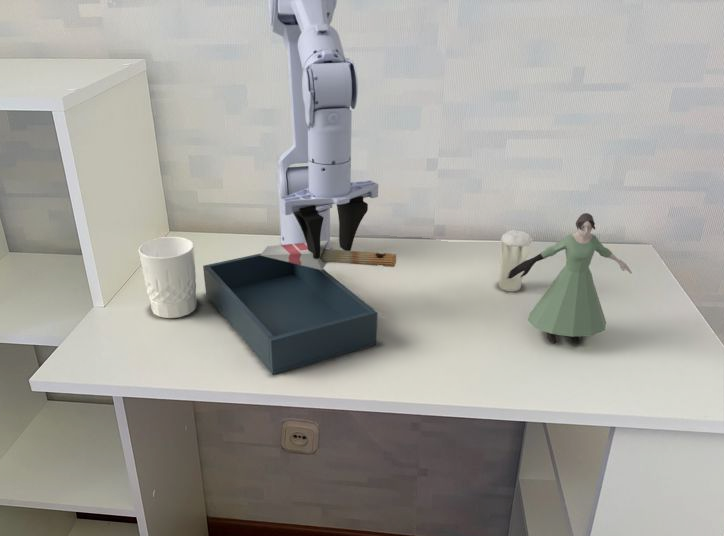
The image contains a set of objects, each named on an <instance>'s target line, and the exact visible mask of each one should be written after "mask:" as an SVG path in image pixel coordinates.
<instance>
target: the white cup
mask: <svg viewBox="0 0 724 536" xmlns="http://www.w3.org/2000/svg"><path fill="white" fill-rule="evenodd" d="M138 255H139V259H140V265H141V269H142V275H143V279H144V284H145V288H146V292H147V296H148V298H149V303H150V309H151V311H152V312H153V313H152V314H153V315H155V316H157V317H159V318H164V319H176V318H182V317H185V316H189V315H190V314H191V313H194V311H195V310H196V308H197V305H198V303H197V282H196V279H197V273H196V259H195V244H194V242H193V241H192V240H190V239H188V238H186V237H181V236H162V237H157V238H152V239H150V240H147V241H145V242H144V243H142V244H141V245H140V246H139V247H138Z"/></svg>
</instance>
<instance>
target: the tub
mask: <svg viewBox="0 0 724 536" xmlns="http://www.w3.org/2000/svg"><path fill="white" fill-rule="evenodd" d="M261 254H262V252H261V253H255V254H251V255H247V256H241V257H237V258H233V259H228V260H223V261H217V262H214V263H209V264H205V265H202V267H203V269H202V270H203V279H204V288H205V296H206V297H207V298H208V300H210V302H211V304H213V306H214V307H216V309H217V310H218V311H219V312H220V314H221V315H222V316H223V318H225V320H226V321H227V322H228V323H229V324H230V325H231V327H232V328H233V329H234V331H236V333H237V334H238V335H239V336H240V337H241V338H242V340H243V341H244V343H246V344H247V346H248V347H249V348H250V349H251V350H252V352H253V353H254V354H255V355H256V356H257V358H258V359H259V360H260V361H261V363H262V364H263V365H264V366H265V367H266V368H267V369H268V371H269V372H270V373H271V374H272V375H276V374H280V373H283V372H286V371H290V370H293V369H294V370H295V369H297V368H300V367H304V366H308V365H311V364H314V363H318V362H321V361H325V360H328V359H332V358H336V357H339V356H342V355H346V354H350V353H353V352H357V351H360V350H363V349H368V348H370V347H375V346H377V337H378V311H376V310H375V309H374V308H373V307H371V306H370V305H369V304H368V303H367V302H365V300H363V299H362V298H360V297H359V296H358V295H357V294H355V293H354V292H353V291H352V290H351V289H349V288H348V287H346V286H345V285H344V284H343V283H342V282H340V281H339V280H338V279H337V278H335V277H334V276H333V275H332V274H331V273H329V272H327V270H325V268H323V270H319V269H315V268H311V267H306V266H302V265H298V264H294V263H290V262H286V261H281V260H277V259H273V258H269V257H265V256H260V255H261Z"/></svg>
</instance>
